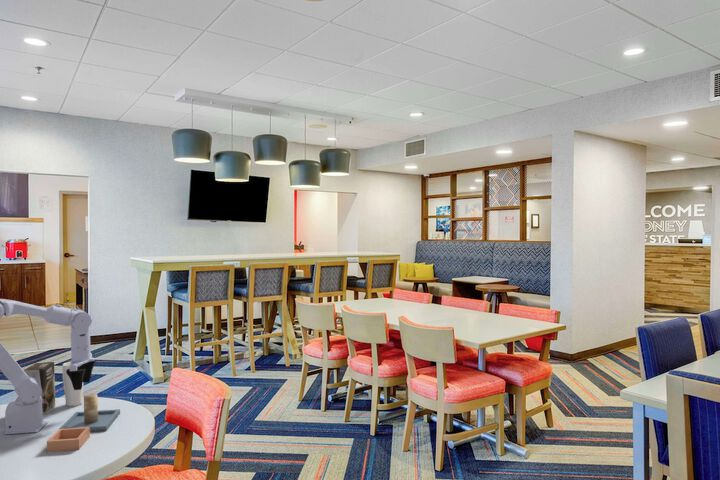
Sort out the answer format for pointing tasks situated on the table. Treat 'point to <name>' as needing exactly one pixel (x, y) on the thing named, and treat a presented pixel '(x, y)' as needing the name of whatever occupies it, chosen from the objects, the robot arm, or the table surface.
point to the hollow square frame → (68, 439)
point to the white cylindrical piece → (71, 388)
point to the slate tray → (101, 425)
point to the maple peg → (90, 408)
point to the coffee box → (44, 383)
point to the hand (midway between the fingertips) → (82, 385)
